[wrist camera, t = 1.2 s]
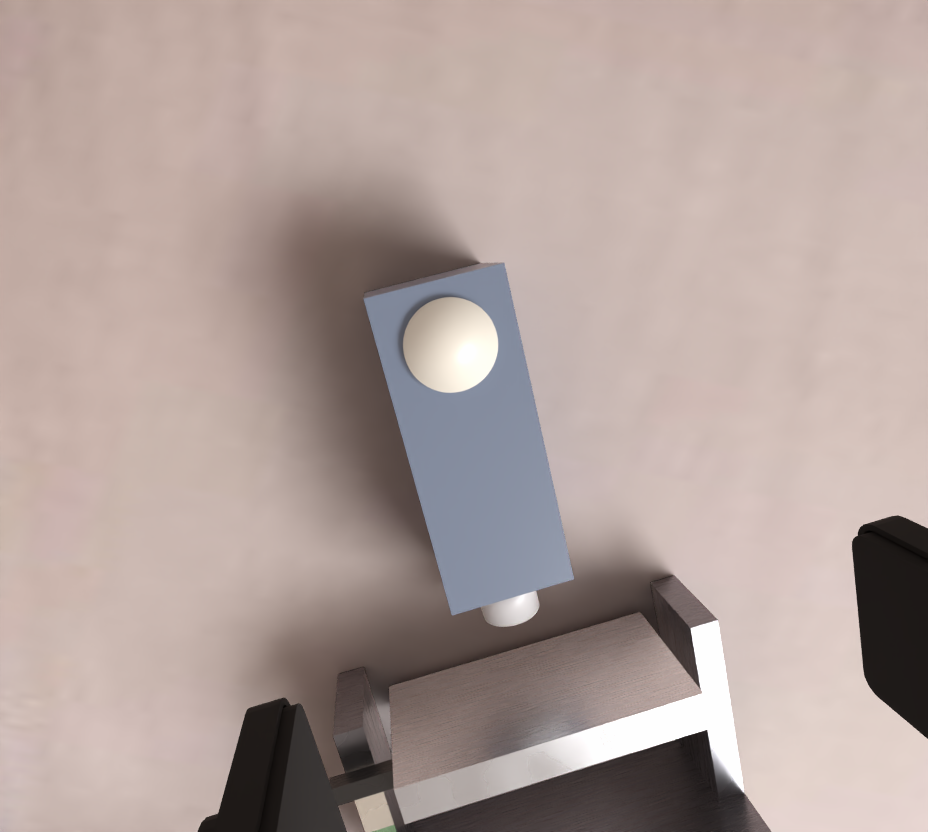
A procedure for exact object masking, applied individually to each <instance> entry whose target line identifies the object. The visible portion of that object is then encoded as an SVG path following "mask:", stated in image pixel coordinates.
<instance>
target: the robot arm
mask: <svg viewBox="0 0 928 832" xmlns="http://www.w3.org/2000/svg"><path fill="white" fill-rule="evenodd" d="M852 552H853V562H854V573H855V584H856V594H857V605H858V616H859V627H860V637H861V648H862V659H863V669H864V675H865V678H866V681H867V683H868V685H869V686H870V688H871V689H872V691H873V692H874V693H875V694H876V695H877V696H878V697H879V698H880V699H881V700H882V701H883V702H885V703H886V704H887V705H888V706H889V707H891V708H892V709H893V710H894V711H895V712H897V713H898V714H899V715H900V716H901V717H902V718H904V719H905V720H906V721H907V722H908V723H910V724H911V725H912V726H913V727H914V728H916V729H917V730H918V731H919V732H920V733H921V734H923V735H924V736H925V737H926V738H927V739H928V528H926V527H923V526H921V525H919V524H917V523H915V522H913V521H911V520H908V519H906V518H904V517H901V516H891V517H888V518H885V519H881V520H878V521H875V522H871V523H868V524H864V525H863V526H861V527H860V529H859V531H858V536H856V537H855V538H854V539H853V541H852ZM198 832H347V831H346V828H345V825H344V822H343V820H342V817H341V814H340V811H339V808H338V805H337V803H336V800H335V797H334V794H333V791H332V788H331V785H330V783H329V780H328V777H327V774H326V771H325V768H324V766H323V763H322V760H321V757H320V754H319V751H318V748H317V746H316V743H315V740H314V737H313V734H312V731H311V729H310V726H309V723H308V720H307V717H306V714H305V712H304V709H303V707H302V705H301V704H299V703H298V704H295V705H292V706H290V704H289V702H288V700H287V699H286V698H281V699H278V700H274V701H271V702H268V703H264V704H261V705H258V706H254V707H251V708H249V709H247V712H246V714H245V718H244V721H243V725H242V729H241V732H240V736H239V740H238V743H237V747H236V751H235V754H234V758H233V762H232V765H231V769H230V773H229V776H228V780H227V784H226V787H225V791H224V795H223V798H222V802H221V806H220V809H219V813H218V814H216V815H213V816H209V817H206V818H205V820H204V821H203V822H202V823H201V825H200V827H199V830H198Z"/></svg>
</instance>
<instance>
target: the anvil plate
mask: <svg viewBox="0 0 928 832" xmlns="http://www.w3.org/2000/svg"><path fill="white" fill-rule="evenodd" d="M389 696H390V718H391V741H392V759H391V760H387V761H384V762H381V763H378V764H374V765H371V766H368V767H365V768H361V769H358V770H355V771H351V772H348V773H345V774H342V775H338V776H335V777H332V778H330V781H329V783H330V785H331V788H332V791H333V794H334V797H335V800H336V803H337V805H338V806H339V805H342V804H345V803H348V802H351V801H355V800H358V799H361V798H364V797H368V796H371V795H374V794H377V793H380V792H384V791H387V790H390V789H393V788H394V792H395V795H396V798H397V801H398V805H399V808H400V811H401V814H402V817H403V820H404V823H405V824H407V823H411V822H414V821H417V820H420V819H423V818H426V817H430V816H433V815H436V814H439V813H442V812H445V811H449V810H452V809H455V808H458V807H461V806H465V805H468V804H471V803H474V802H477V801H480V800H484V799H487V798H490V797H493V796H496V795H499V794H503V793H506V792H509V791H512V790H515V789H518V788H522V787H525V786H528V785H531V784H534V783H538V782H541V781H544V780H547V779H550V778H553V777H557V776H560V775H563V774H566V773H569V772H572V771H576V770H579V769H582V768H585V767H588V766H592V765H595V764H598V763H601V762H604V761H607V760H611V759H614V758H617V757H620V756H623V755H626V754H630V753H633V752H636V751H639V750H642V749H645V748H649V747H652V746H655V745H658V744H661V743H665V742H668V741H671V740H674V739H677V738H680V737H684V736H687V735H690V734H693V733H696V732H699V731H703V730H706V729H709V724H708V718H707V711H706V705H705V699H704V693H703V692H702V691H701V690H700V688H699V687H698V686H697V684H696V683H695V682H694V681H693V679H692V678H691V677H690V675H689V674H688V673H687V672H686V670H685V669H684V668H683V666H682V665H681V664H680V663H679V661H678V660H677V659H676V657H675V656H674V655H673V654H672V652H671V651H670V650H669V648H668V647H667V646H666V645H665V643H664V642H663V641H662V639H661V638H660V637H659V636H658V634H657V633H656V632H655V630H654V629H653V628H652V627H651V625H650V624H649V623H648V621H647V620H646V619H645V618H644V616H643V615H642V614H641V612H638V613H634V614H631V615H628V616H624V617H621V618H617V619H614V620H611V621H607V622H604V623H601V624H597V625H594V626H591V627H587V628H584V629H580V630H577V631H574V632H570V633H567V634H564V635H560V636H557V637H554V638H550V639H547V640H543V641H540V642H537V643H533V644H530V645H527V646H523V647H520V648H517V649H513V650H510V651H506V652H503V653H500V654H496V655H493V656H490V657H486V658H483V659H480V660H476V661H473V662H469V663H466V664H463V665H459V666H456V667H453V668H449V669H446V670H443V671H439V672H436V673H432V674H429V675H426V676H422V677H419V678H416V679H412V680H409V681H406V682H402V683H399V684H395V685H392V686H389Z"/></svg>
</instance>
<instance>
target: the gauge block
mask: <svg viewBox="0 0 928 832" xmlns="http://www.w3.org/2000/svg"><path fill="white" fill-rule="evenodd" d="M363 299H364V303H365V306H366V310H367V313H368V317H369V321H370V324H371V328H372V331H373V335H374V338H375V342H376V346H377V349H378V353H379V356H380V360H381V364H382V367H383V371H384V374H385V378H386V381H387V385H388V389H389V392H390V396H391V399H392V403H393V407H394V410H395V414H396V417H397V421H398V424H399V428H400V432H401V435H402V439H403V442H404V446H405V449H406V453H407V457H408V460H409V464H410V467H411V471H412V475H413V478H414V482H415V485H416V489H417V492H418V496H419V500H420V503H421V507H422V510H423V514H424V518H425V521H426V525H427V528H428V532H429V535H430V539H431V543H432V546H433V550H434V553H435V557H436V561H437V564H438V568H439V571H440V575H441V578H442V582H443V586H444V589H445V593H446V596H447V600H448V603H449V607H450V611H451V614H452V615H455V614H459V613H462V612H466V611H469V610H472V609H476V608H479V607H481V609H482V613H483V616H484V619H485V621H486V622H488V623H489V624H491V625H494V626H499V627H508V626H514V625H518V624H521V623H523V622H525V621H527V620H529V619H530V618H532V617H533V616H534V615H535V614H536V613H537V611H538V609H539V600H538V596H537V592H536V590H540V589H543V588H547V587H550V586H553V585H557V584H560V583H563V582H567V581H570V580H573V579H574V576H573V572H572V567H571V563H570V558H569V554H568V549H567V545H566V540H565V536H564V531H563V527H562V522H561V518H560V513H559V509H558V504H557V499H556V495H555V490H554V486H553V481H552V477H551V472H550V468H549V463H548V459H547V454H546V450H545V445H544V441H543V436H542V432H541V427H540V423H539V418H538V414H537V409H536V405H535V400H534V395H533V391H532V386H531V382H530V377H529V373H528V368H527V364H526V359H525V355H524V350H523V346H522V341H521V337H520V332H519V328H518V323H517V319H516V314H515V310H514V305H513V301H512V296H511V291H510V287H509V282H508V278H507V273H506V269H505V264H504V263H479V264H475V265H471V266H467V267H463V268H459V269H455V270H451V271H447V272H444V273H440V274H436V275H432V276H428V277H424V278H420V279H416V280H412V281H408V282H404V283H400V284H396V285H393V286H389V287H385V288H381V289H377V290H373V291H369V292H365V294H364V298H363Z"/></svg>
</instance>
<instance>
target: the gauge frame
mask: <svg viewBox="0 0 928 832" xmlns="http://www.w3.org/2000/svg"><path fill="white" fill-rule="evenodd" d="M651 589H652V594H653V600H654V605H655V611H656V616H657V622H658V628H659V633H660V638H661V639H662V641H663V642H664V643H665V645H666V646H667V647H668V648H669V650H670V651H671V652H672V654H673V655H674V656H675V657H676V659H677V660H678V661H679V663H680V664H681V665H682V666H683V668H684V669H685V670H686V672H687V673H688V674H689V675H690V677H691V678H692V679H693V681H694V682H695V683H696V684H697V686H698V687H699V688H700V690H701V691H702V692H703V693H704V699H705V705H706V711H707V718H708V724H709V729H706V730H703V731H699V732H696V733H693V734H690V735H687V736H684V737H680V738H678V739H677V740H674V741H671V742H667V743H664V744H661V745H658V746H655V747H652V748H648V749H645V750H642V751H639V752H636V753H633V754H629V755H626V756H623V757H620V758H617V759H614V760H610V761H607V762H604V763H601V764H598V765H594V766H591V767H588V768H585V769H582V770H579V771H575V772H572V773H569V774H566V775H563V776H560V777H556V778H553V779H550V780H547V781H544V782H541V783H537V784H534V785H531V786H528V787H525V788H521V789H518V790H515V791H512V792H509V793H506V794H502V795H499V796H496V797H493V798H490V799H487V800H483V801H480V802H477V803H474V804H471V805H468V806H464V807H461V808H458V809H455V810H452V811H448V812H445V813H442V814H439V815H436V816H433V817H429V818H426V819H423V820H420V821H417V822H414V823H413V822H411V823H407V824H405V823H404V820H403V817H402V814H401V811H400V808H399V805H398V801H397V798H396V795H395V792H394V788H393V789H390V790H387V791H384V792H380V793H377V794H374V795H371V796H368V797H364V798H361V799H358V800H355V804H356V807H357V810H358V813H359V816H360V819H361V822H362V825H363V827H364V830H365V832H771V830H770V829H769V828H768V826H767V825H766V823H765V822H764V821H763V819H762V818H761V816H760V815H759V813H758V812H757V811H756V809H755V808H754V806H753V805H752V804H751V802H750V801H749V799H748V798H747V797H746V795H745V793H744V787H743V780H742V774H741V767H740V761H739V754H738V748H737V741H736V735H735V728H734V722H733V715H732V709H731V702H730V695H729V689H728V682H727V676H726V669H725V663H724V656H723V650H722V643H721V637H720V630H719V624H718V620H717V619H716V618H715V617H714V616H713V615H712V613H711V612H710V611H709V610H708V609H707V608H706V607H705V606H704V605H703V604H702V603H701V602H700V601H699V600H698V599H697V598H696V597H695V596H694V595H693V594H692V593H691V592H690V591H689V590H688V589H687V588H686V587H685V586H684V585H683V584H682V583H681V582H680V581H679V580H678V579H677V578H676V577H675V576H671V577H668V578H664V579H661V580H657V581H654V582H651ZM333 738H334V741H335V744H336V746H337V749H338V752H339V755H340V758H341V761H342V764H343V767H344V770H345V773H348V772H351V771H355V770H358V769H361V768H365V767H368V766H371V765H374V764H378V763H381V762H384V761H387V760H391V759H392V754H391V751H390V748H389V745H388V742H387V739H386V735H385V732H384V729H383V726H382V723H381V720H380V716H379V713H378V710H377V707H376V704H375V701H374V698H373V694H372V691H371V688H370V685H369V682H368V679H367V676H366V672H365V669H364V667H361V668H358V669H355V670H351V671H348V672H344V673H341V674H338V678H337V691H336V704H335V716H334V729H333Z"/></svg>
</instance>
